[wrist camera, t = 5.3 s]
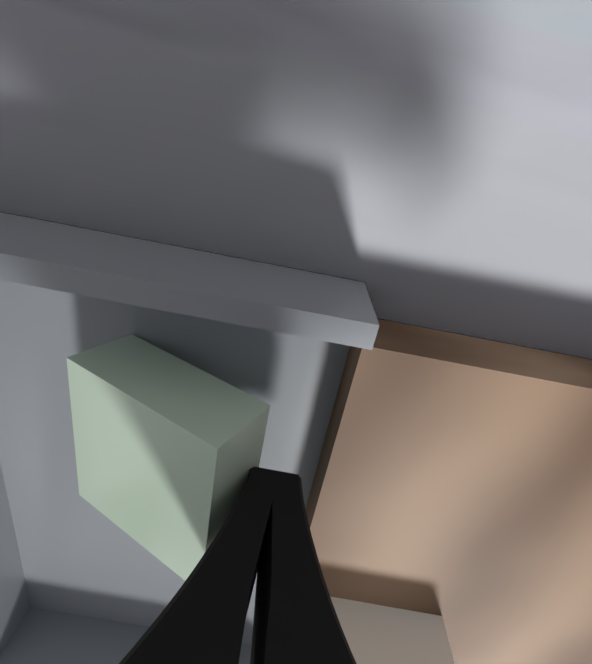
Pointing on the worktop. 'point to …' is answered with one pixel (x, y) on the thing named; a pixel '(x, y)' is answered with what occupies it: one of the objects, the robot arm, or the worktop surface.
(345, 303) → the box
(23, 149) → the worktop surface
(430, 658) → the cream tile
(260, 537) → the robot arm
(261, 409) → the sage tile
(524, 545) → the walnut plate
